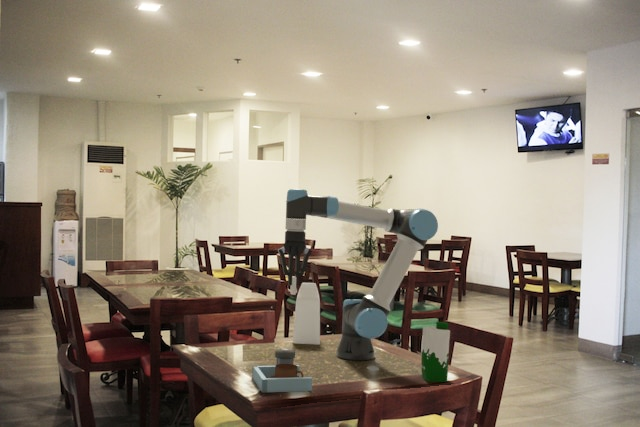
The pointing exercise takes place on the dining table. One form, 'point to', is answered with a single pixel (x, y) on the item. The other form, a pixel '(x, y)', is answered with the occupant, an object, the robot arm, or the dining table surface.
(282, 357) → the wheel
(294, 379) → the light blue tray
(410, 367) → the dining table surface
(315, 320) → the milk
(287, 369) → the cup and saucer
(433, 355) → the milk carton
